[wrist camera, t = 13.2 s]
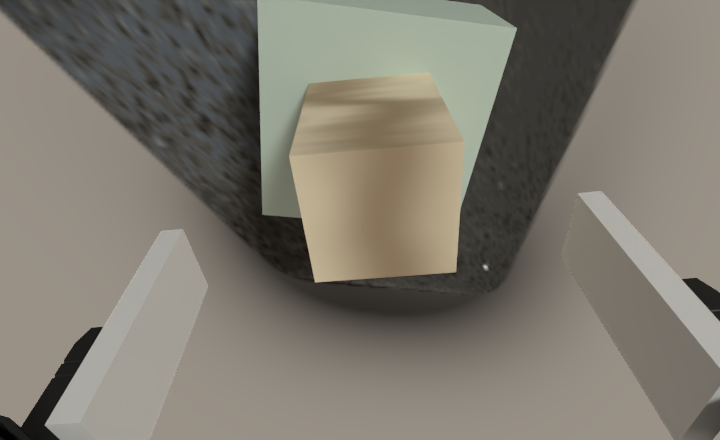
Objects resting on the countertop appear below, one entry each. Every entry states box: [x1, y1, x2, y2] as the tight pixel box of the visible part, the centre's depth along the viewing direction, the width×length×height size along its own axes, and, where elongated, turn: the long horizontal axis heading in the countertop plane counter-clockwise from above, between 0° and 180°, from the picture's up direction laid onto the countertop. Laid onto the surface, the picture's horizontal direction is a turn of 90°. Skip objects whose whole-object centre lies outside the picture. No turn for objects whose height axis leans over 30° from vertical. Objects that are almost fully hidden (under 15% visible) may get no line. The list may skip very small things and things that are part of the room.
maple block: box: [289, 72, 465, 282], centre depth 19 cm, size 6×6×8 cm
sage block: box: [257, 0, 517, 218], centre depth 25 cm, size 12×12×7 cm
